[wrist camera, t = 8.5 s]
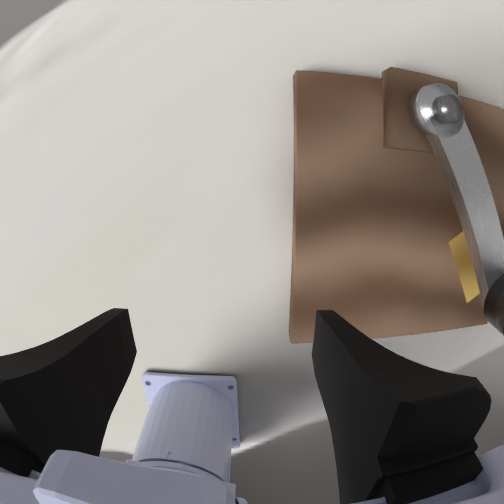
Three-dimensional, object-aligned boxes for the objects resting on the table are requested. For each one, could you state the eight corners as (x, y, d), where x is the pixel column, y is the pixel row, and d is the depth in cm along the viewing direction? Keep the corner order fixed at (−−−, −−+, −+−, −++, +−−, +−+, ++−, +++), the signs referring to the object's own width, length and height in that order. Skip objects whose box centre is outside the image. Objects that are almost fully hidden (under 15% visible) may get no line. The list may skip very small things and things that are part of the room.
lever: (395, 100, 15) (449, 85, 10) (440, 77, 15) (499, 60, 9) (477, 324, 20) (519, 363, 14) (511, 296, 19) (555, 328, 14)
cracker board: (478, 316, 24) (496, 331, 21) (288, 332, 24) (293, 355, 21) (503, 108, 18) (526, 107, 15) (293, 68, 18) (299, 56, 15)
